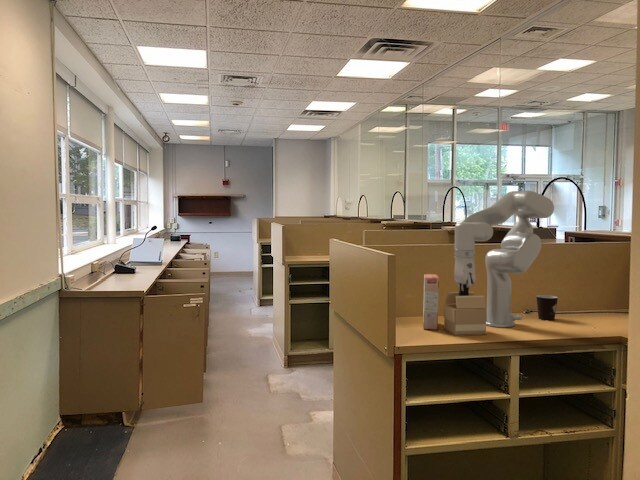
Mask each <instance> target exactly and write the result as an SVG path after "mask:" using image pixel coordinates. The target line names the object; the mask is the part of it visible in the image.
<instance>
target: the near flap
mask: <svg viewBox="0 0 640 480" xmlns="http://www.w3.org/2000/svg"><path fill="white" fill-rule="evenodd" d="M456 305H457V309H469V308H486V309H487V305H486V300H485V295H482V294H481V295H474V296H456Z"/></svg>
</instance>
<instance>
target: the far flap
mask: <svg viewBox="0 0 640 480" xmlns="http://www.w3.org/2000/svg"><path fill="white" fill-rule="evenodd" d="M475 294H476V293H475V292H474V291H469V296H475ZM456 296H459V291H458V292H457V291H456V292H453V291H452V292H446V298H445V304H456Z"/></svg>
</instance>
